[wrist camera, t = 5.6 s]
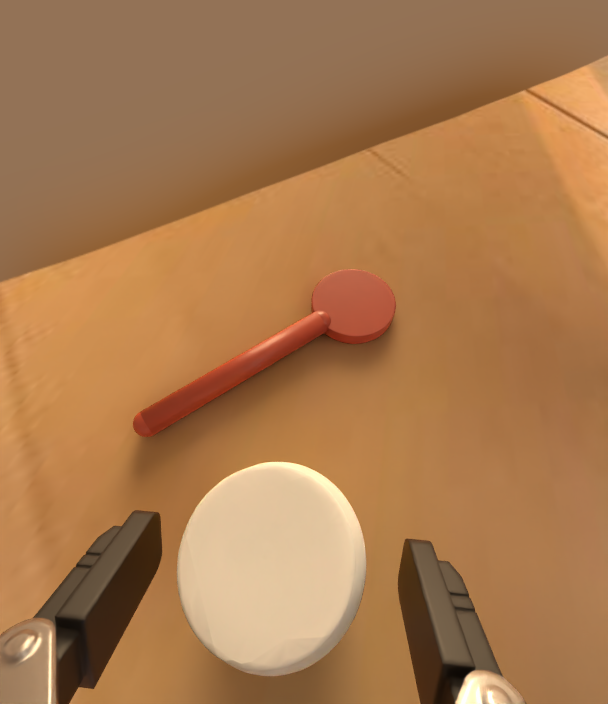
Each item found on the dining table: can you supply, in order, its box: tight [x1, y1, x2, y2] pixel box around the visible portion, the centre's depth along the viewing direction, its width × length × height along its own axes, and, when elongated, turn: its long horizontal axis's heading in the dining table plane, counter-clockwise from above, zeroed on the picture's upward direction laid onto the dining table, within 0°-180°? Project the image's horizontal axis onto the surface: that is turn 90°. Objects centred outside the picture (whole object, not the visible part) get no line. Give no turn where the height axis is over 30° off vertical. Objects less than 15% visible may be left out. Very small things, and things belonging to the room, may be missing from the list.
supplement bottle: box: [177, 462, 366, 676], centre depth 12 cm, size 5×5×10 cm
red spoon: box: [133, 269, 396, 437], centre depth 21 cm, size 17×5×1 cm, turn 125°
